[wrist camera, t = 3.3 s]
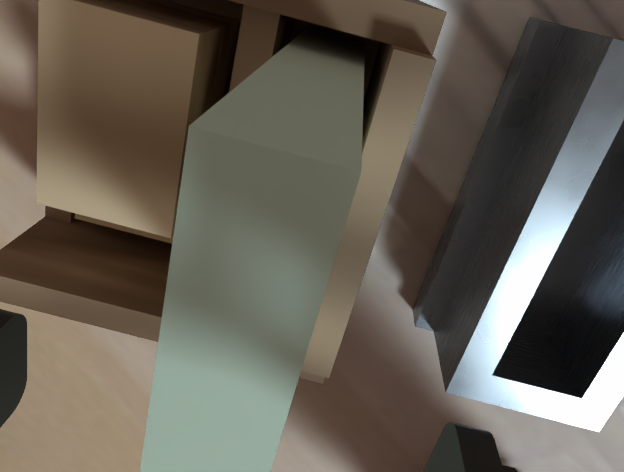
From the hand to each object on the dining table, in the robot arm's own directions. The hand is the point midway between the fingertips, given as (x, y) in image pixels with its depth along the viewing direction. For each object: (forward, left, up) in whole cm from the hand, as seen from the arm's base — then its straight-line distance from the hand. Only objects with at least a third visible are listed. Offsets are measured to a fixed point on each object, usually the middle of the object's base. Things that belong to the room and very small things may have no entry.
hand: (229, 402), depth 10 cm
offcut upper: (-1, -6, -12) cm, 14 cm away
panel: (0, 0, -15) cm, 15 cm away
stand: (0, +12, -17) cm, 21 cm away
